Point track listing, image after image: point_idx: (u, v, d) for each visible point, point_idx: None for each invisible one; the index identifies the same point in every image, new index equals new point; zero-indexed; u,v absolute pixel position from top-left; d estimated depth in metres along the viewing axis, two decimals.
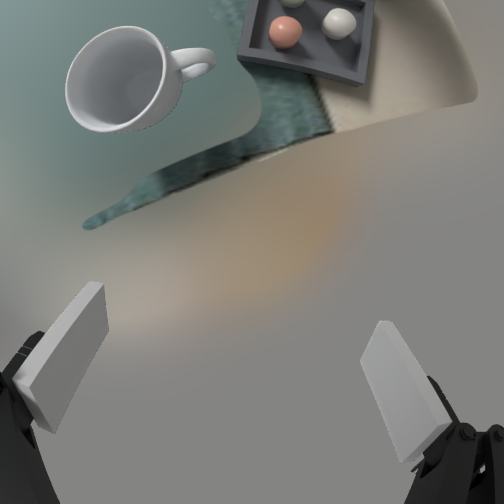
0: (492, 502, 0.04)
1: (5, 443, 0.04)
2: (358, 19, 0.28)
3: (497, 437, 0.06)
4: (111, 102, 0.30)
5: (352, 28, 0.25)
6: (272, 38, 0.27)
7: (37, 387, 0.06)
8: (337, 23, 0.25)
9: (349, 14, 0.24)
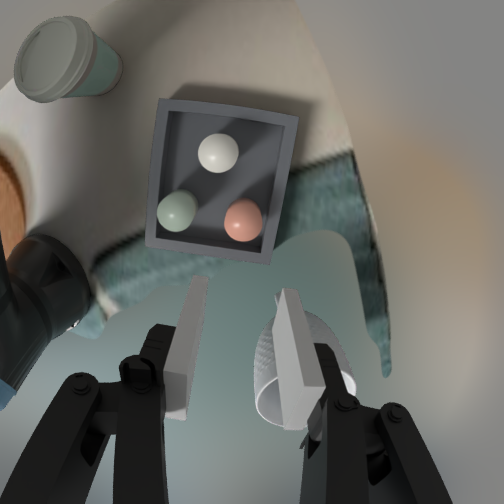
0: (412, 497, 0.05)
1: (144, 442, 0.06)
2: (194, 114, 0.28)
3: (394, 419, 0.07)
4: None
5: (228, 139, 0.25)
6: None
7: (188, 374, 0.09)
8: (224, 159, 0.25)
9: (205, 142, 0.25)
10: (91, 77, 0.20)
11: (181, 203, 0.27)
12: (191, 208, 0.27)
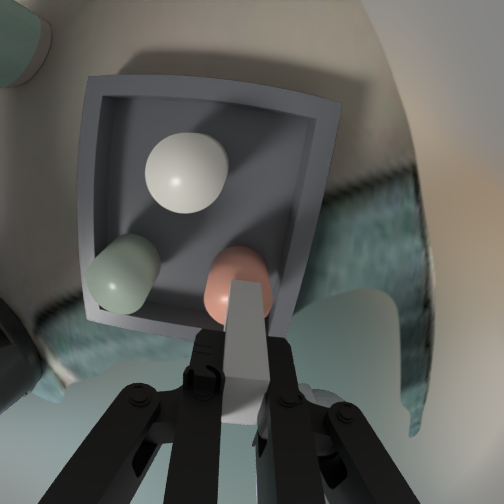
0: (373, 503, 0.05)
1: (202, 449, 0.06)
2: (151, 101, 0.15)
3: (344, 420, 0.07)
4: None
5: (204, 144, 0.12)
6: None
7: None
8: (198, 186, 0.12)
9: (158, 152, 0.12)
10: None
11: (123, 269, 0.14)
12: (141, 279, 0.14)
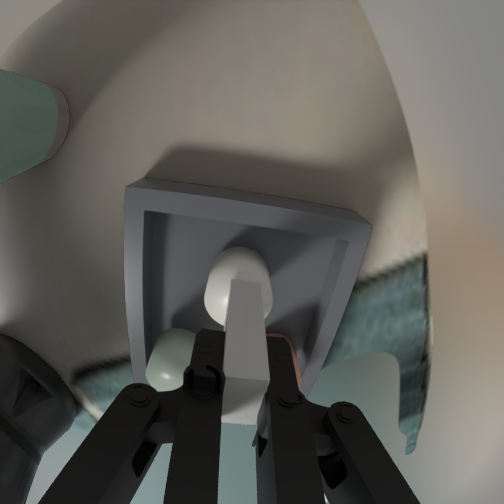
0: (373, 503, 0.05)
1: (202, 449, 0.06)
2: None
3: (344, 420, 0.07)
4: None
5: (256, 280, 0.15)
6: None
7: None
8: None
9: (216, 284, 0.15)
10: None
11: (181, 370, 0.16)
12: None
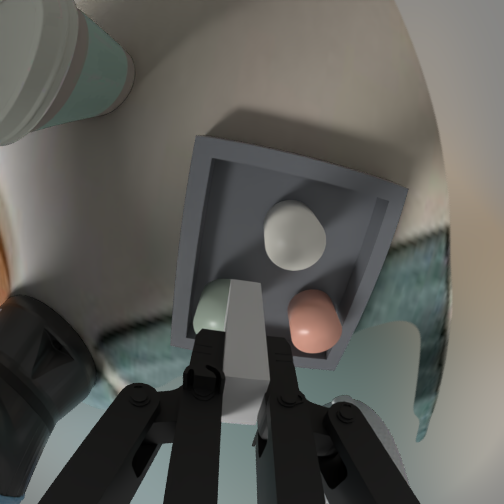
0: (373, 503, 0.05)
1: (202, 449, 0.06)
2: None
3: (344, 420, 0.07)
4: None
5: (314, 222, 0.17)
6: None
7: None
8: (304, 252, 0.17)
9: (278, 225, 0.17)
10: (78, 97, 0.11)
11: None
12: None
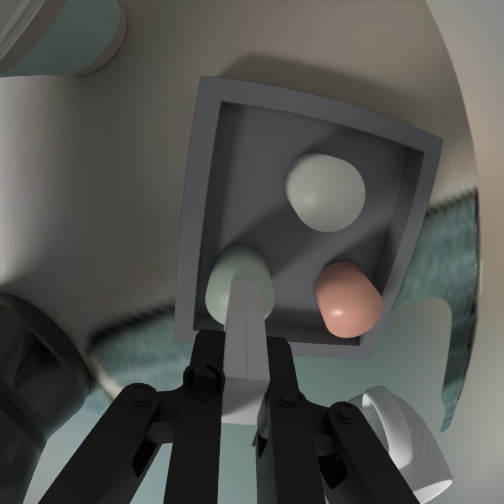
0: (373, 503, 0.05)
1: (202, 449, 0.06)
2: (265, 113, 0.15)
3: (344, 420, 0.07)
4: None
5: (350, 170, 0.13)
6: None
7: None
8: (341, 208, 0.14)
9: (308, 173, 0.13)
10: (63, 28, 0.07)
11: None
12: (271, 293, 0.15)
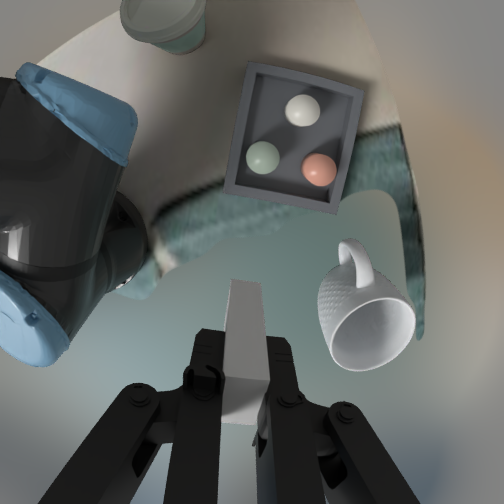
0: (373, 503, 0.05)
1: (202, 449, 0.06)
2: (275, 80, 0.31)
3: (344, 420, 0.07)
4: (353, 321, 0.40)
5: (312, 100, 0.28)
6: None
7: None
8: (309, 116, 0.29)
9: (294, 100, 0.28)
10: (194, 31, 0.23)
11: (269, 149, 0.30)
12: (278, 154, 0.31)
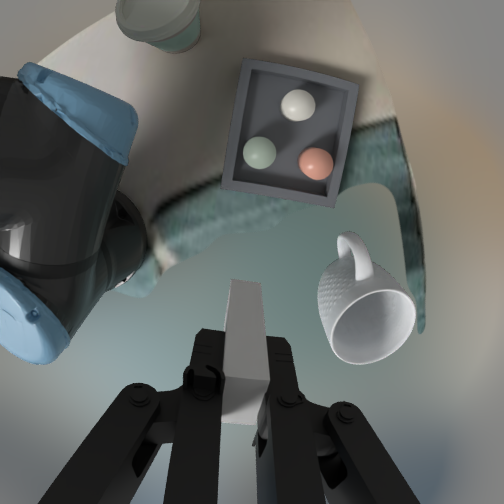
0: (373, 503, 0.05)
1: (202, 449, 0.06)
2: (270, 76, 0.31)
3: (344, 420, 0.07)
4: (354, 315, 0.40)
5: (307, 94, 0.28)
6: None
7: None
8: (304, 110, 0.29)
9: (289, 95, 0.28)
10: (189, 29, 0.23)
11: (266, 144, 0.30)
12: (274, 149, 0.31)
